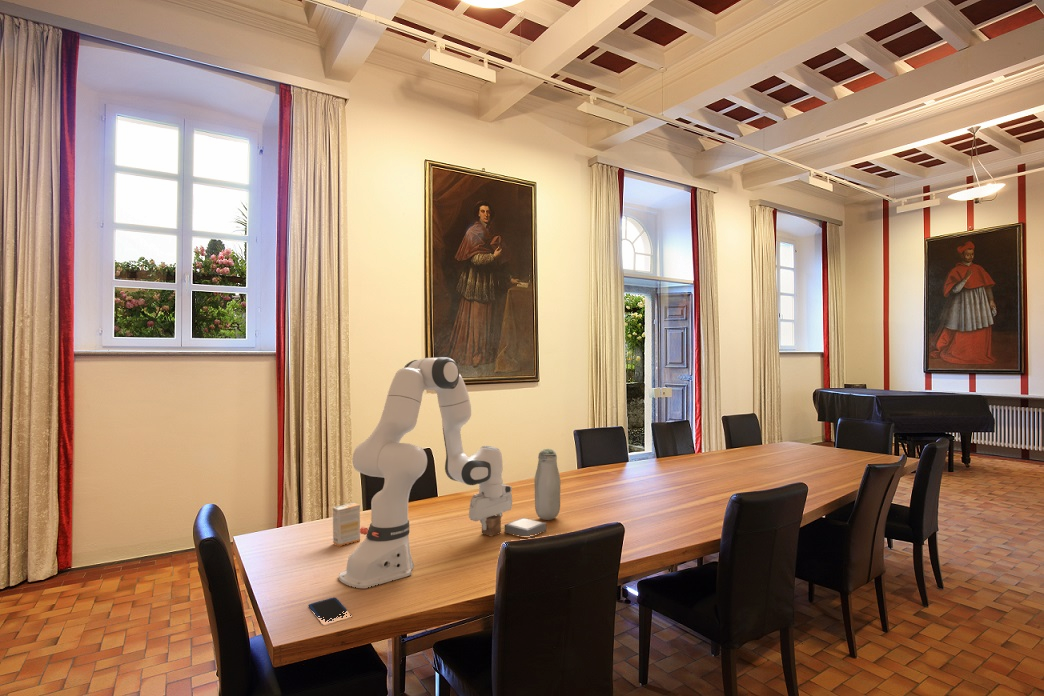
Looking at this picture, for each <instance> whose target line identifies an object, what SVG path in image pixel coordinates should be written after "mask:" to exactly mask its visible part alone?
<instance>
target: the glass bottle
mask: <svg viewBox="0 0 1044 696" xmlns="http://www.w3.org/2000/svg"><path fill="white" fill-rule="evenodd" d="M537 459H538V460H537V466H536V467H537V468H536V470H535V475H534V510H535V513H536V516H537V517H538V518H540V519H541V520H545V521H551V520H554V519H555V518H556V517H558V515H559V514H560V510H561V477H560V471H559V469H558V462H557V461H558V460H557V459H558V457H557V453H556V451H555V450H554V449H551V448H546V449H545V448H544V449H542V450H541V451H539V453H538V457H537Z"/></svg>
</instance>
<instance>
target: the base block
mask: <svg viewBox="0 0 1044 696" xmlns="http://www.w3.org/2000/svg"><path fill="white" fill-rule="evenodd" d="M543 531H545V532H547V522H543V521H540V520H539V521H538V520H534V519H532V518H531V519H530V518H527V517H522V518H519V519H515V520H513V521H510V522H508V523H505V524H504V533H505V532H506V533H505V534H507V533H510V534H509V535H511V534H514V535H513V536H515V535H519V536H530V535H535V534H538V533H540V532H543ZM543 533H544V532H543ZM540 534H541V533H540ZM538 535H539V534H538ZM519 536H518V537H519ZM532 537H534V536H530V537H524V539H526V538H528V539H530V538H532Z"/></svg>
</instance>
